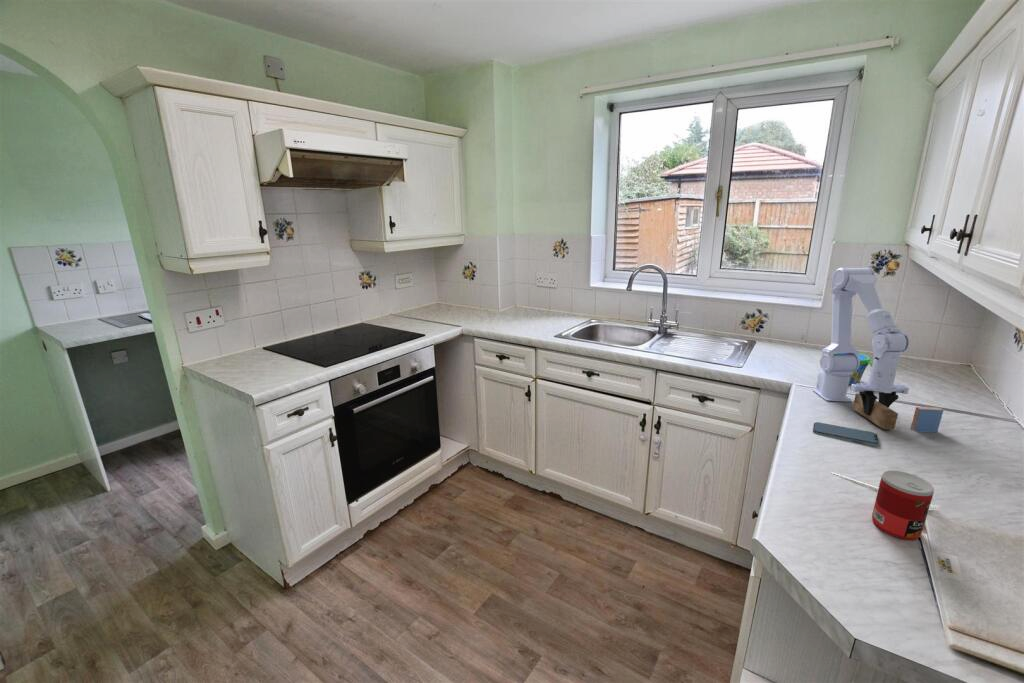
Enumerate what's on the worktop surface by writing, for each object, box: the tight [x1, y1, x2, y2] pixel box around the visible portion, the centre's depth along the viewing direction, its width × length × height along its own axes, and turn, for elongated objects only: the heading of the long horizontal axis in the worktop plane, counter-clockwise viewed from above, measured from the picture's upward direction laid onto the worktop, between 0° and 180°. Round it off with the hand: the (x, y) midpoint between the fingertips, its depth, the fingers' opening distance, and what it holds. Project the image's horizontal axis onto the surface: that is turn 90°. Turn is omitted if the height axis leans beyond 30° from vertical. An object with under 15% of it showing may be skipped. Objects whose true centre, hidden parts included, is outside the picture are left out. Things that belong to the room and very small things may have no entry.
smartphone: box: [812, 421, 879, 447], centre depth 130 cm, size 8×2×15 cm
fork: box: [831, 471, 942, 512], centre depth 104 cm, size 3×20×2 cm, turn 37°
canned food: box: [871, 470, 935, 541], centre depth 91 cm, size 8×8×11 cm
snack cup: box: [835, 352, 873, 385], centre depth 168 cm, size 16×10×10 cm
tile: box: [910, 406, 944, 433], centre depth 131 cm, size 2×6×7 cm, turn 83°
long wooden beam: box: [852, 393, 899, 430], centre depth 137 cm, size 14×3×5 cm, turn 175°
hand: (873, 414), depth 137 cm, fingers closed on long wooden beam, 3 cm apart
